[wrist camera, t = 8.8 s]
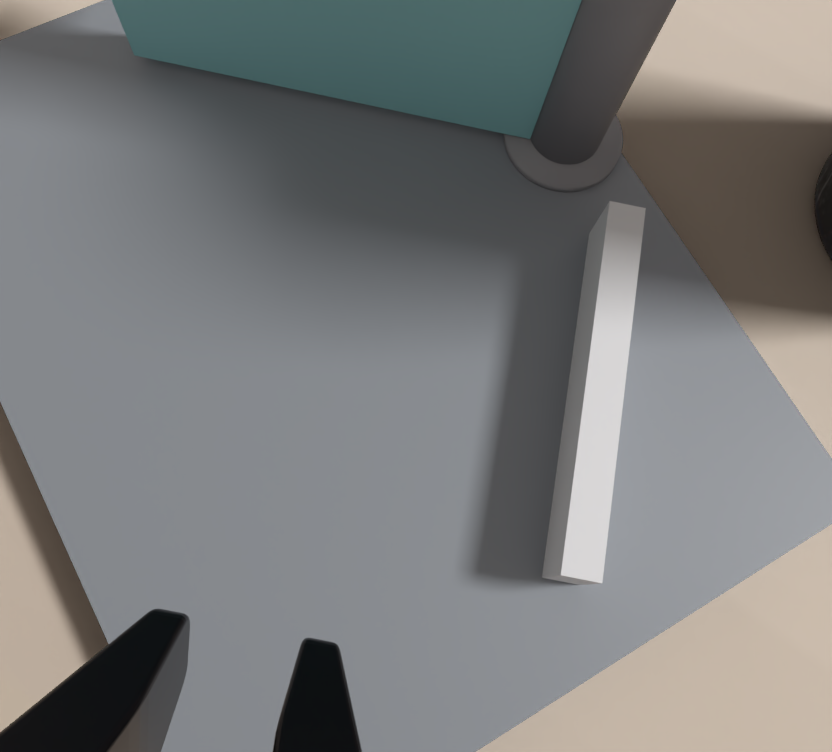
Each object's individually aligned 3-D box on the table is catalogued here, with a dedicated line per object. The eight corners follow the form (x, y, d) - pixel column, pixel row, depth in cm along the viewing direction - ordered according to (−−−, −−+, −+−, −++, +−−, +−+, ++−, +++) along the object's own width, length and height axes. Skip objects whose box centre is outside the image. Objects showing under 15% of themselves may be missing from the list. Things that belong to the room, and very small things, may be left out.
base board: (234, 894, 19) (211, 946, 16) (-118, 113, 24) (-183, 47, 21) (852, 501, 23) (923, 487, 20) (437, -105, 28) (446, -186, 25)
